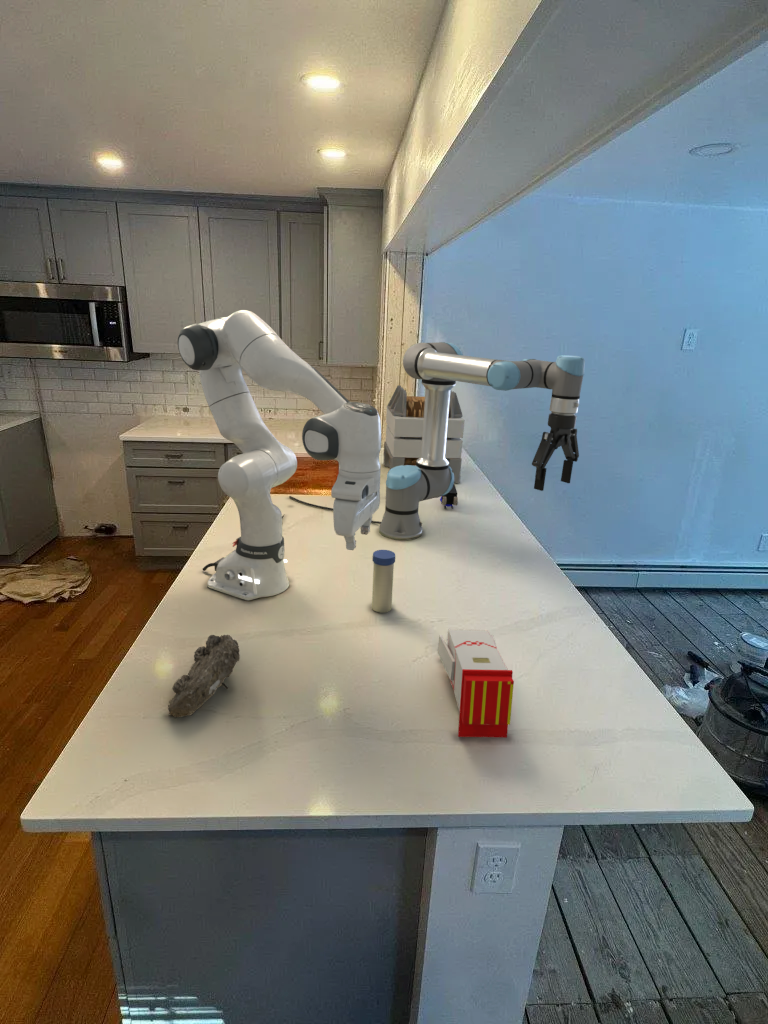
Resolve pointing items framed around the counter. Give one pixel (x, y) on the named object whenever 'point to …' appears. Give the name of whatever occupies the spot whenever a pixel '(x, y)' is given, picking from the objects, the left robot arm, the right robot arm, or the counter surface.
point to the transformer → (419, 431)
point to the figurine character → (450, 498)
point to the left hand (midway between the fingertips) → (358, 540)
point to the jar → (382, 588)
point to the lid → (384, 557)
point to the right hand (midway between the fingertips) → (552, 485)
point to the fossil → (204, 675)
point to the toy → (478, 682)
